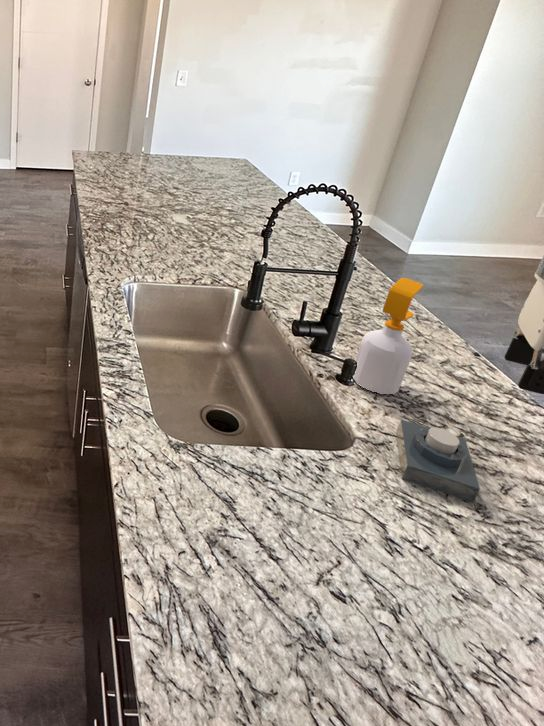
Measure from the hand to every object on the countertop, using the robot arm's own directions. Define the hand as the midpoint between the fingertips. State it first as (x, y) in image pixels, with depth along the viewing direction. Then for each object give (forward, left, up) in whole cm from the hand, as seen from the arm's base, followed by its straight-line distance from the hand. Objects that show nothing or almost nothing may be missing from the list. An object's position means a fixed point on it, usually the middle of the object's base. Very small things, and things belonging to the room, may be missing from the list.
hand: (523, 375), depth 84 cm
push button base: (+6, 0, -22) cm, 23 cm away
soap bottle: (+14, -22, -22) cm, 34 cm away
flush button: (+6, 0, -17) cm, 18 cm away
